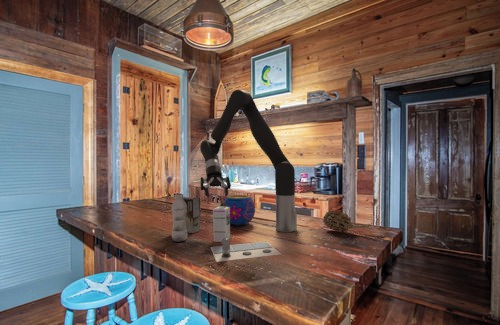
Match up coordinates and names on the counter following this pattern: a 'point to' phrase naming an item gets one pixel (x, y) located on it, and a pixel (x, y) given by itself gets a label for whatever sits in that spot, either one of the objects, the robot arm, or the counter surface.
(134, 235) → the counter surface
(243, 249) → the board
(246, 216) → the ceramic pot
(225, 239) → the peg
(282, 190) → the robot arm
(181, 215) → the plastic bottle
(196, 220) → the coffee box
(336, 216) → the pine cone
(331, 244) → the counter surface
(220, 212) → the syrup box
